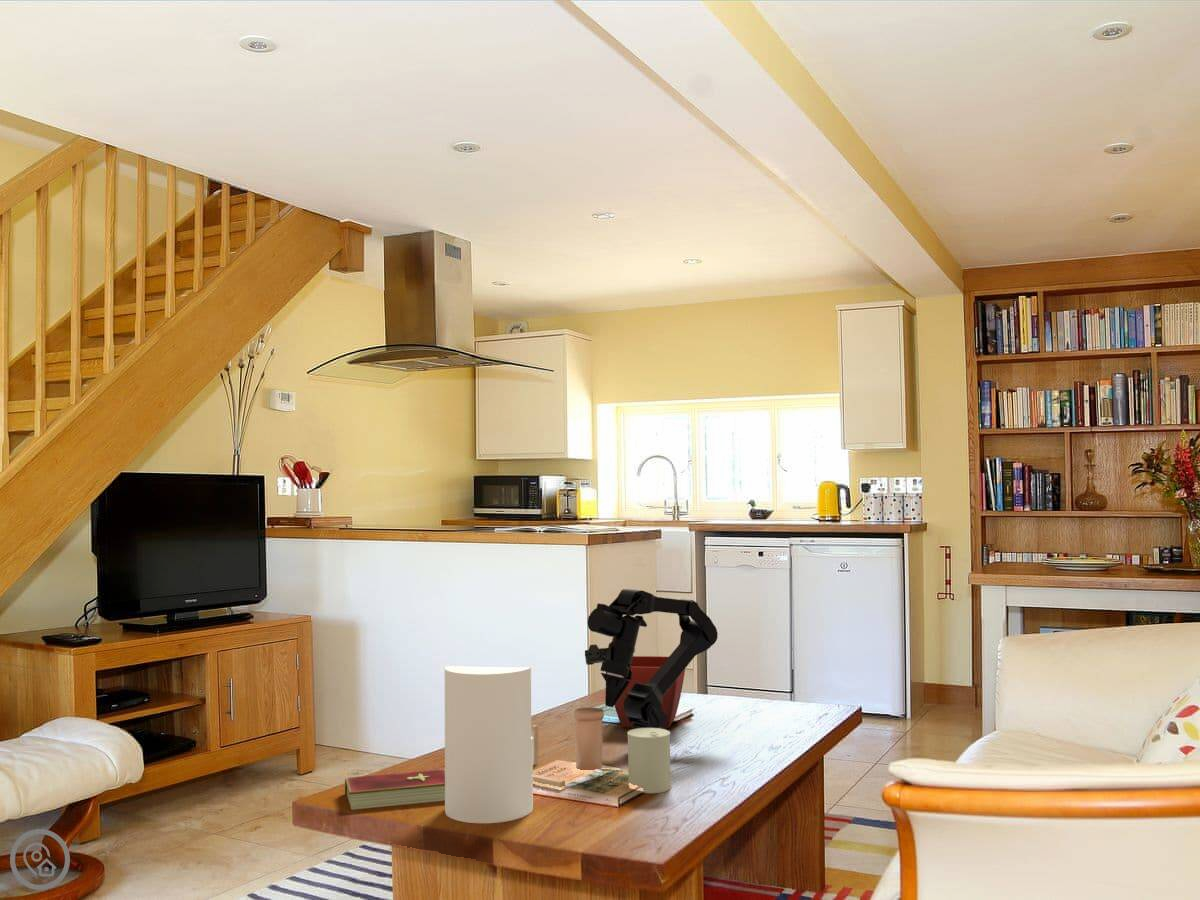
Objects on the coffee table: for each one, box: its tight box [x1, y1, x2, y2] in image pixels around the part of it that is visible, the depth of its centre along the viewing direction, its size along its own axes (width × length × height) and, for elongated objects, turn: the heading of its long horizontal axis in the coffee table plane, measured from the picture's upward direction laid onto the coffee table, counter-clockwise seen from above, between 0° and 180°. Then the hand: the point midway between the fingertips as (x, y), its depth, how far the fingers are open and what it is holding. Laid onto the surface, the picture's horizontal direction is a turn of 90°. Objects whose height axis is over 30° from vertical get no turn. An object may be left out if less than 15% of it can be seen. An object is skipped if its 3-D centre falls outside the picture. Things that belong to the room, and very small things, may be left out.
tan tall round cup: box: [573, 707, 605, 770], centre depth 235 cm, size 7×7×13 cm
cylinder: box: [444, 665, 534, 824], centre depth 206 cm, size 17×17×28 cm
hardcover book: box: [344, 768, 445, 811], centre depth 215 cm, size 12×21×4 cm, turn 108°
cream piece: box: [531, 724, 621, 787], centre depth 232 cm, size 21×19×9 cm
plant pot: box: [614, 655, 686, 730], centre depth 282 cm, size 19×19×17 cm
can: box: [626, 728, 672, 794], centre depth 221 cm, size 9×9×12 cm
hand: (609, 706), depth 245 cm, fingers open, 9 cm apart
